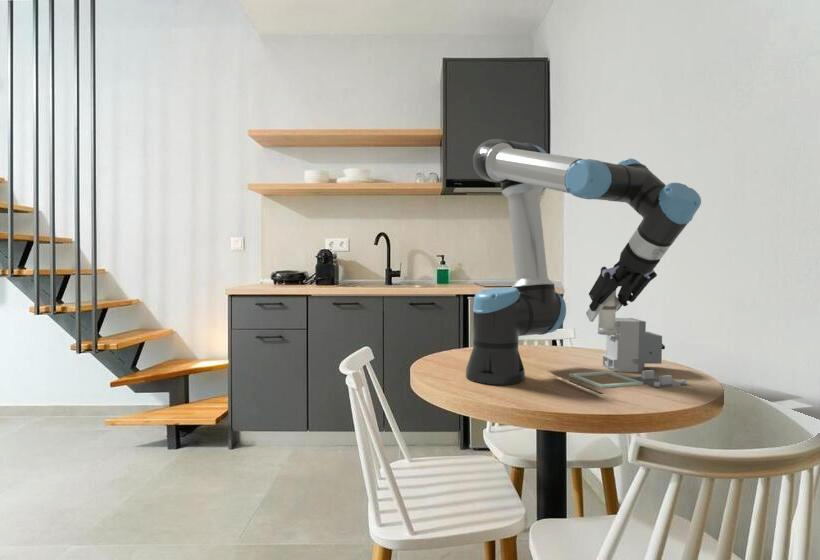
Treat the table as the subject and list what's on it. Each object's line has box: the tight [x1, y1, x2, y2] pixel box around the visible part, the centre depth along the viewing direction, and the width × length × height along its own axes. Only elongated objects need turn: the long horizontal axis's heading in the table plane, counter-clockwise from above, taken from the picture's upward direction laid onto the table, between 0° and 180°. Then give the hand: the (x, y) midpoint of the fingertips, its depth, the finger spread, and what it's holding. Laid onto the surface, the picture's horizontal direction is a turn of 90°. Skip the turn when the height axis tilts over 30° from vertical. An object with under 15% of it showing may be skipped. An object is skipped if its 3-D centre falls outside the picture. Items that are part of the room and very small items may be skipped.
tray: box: [568, 370, 644, 395], centre depth 115 cm, size 12×12×2 cm
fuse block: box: [628, 369, 690, 389], centre depth 114 cm, size 10×10×4 cm
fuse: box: [597, 289, 617, 336], centre depth 115 cm, size 4×4×12 cm
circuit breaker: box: [602, 317, 666, 373], centre depth 128 cm, size 8×14×15 cm, turn 89°
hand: (597, 317), depth 118 cm, fingers closed on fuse, 4 cm apart
